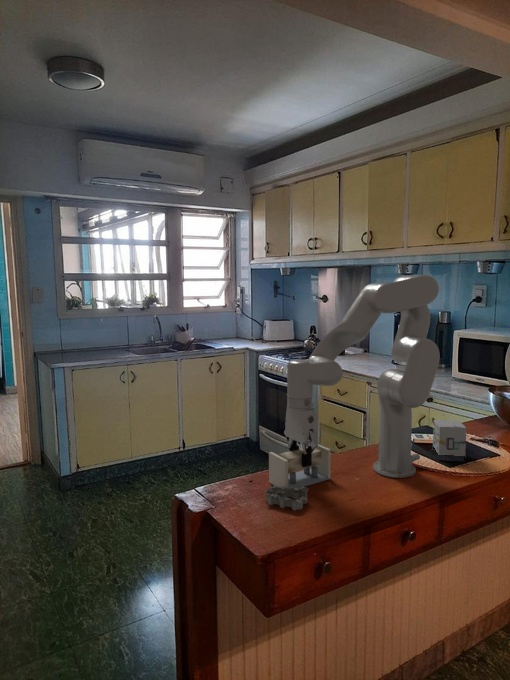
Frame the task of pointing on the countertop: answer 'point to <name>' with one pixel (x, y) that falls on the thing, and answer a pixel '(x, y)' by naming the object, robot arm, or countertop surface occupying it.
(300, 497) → the egg carton
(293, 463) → the beige wavy block
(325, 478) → the peg stand
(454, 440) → the ink box
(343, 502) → the countertop surface
